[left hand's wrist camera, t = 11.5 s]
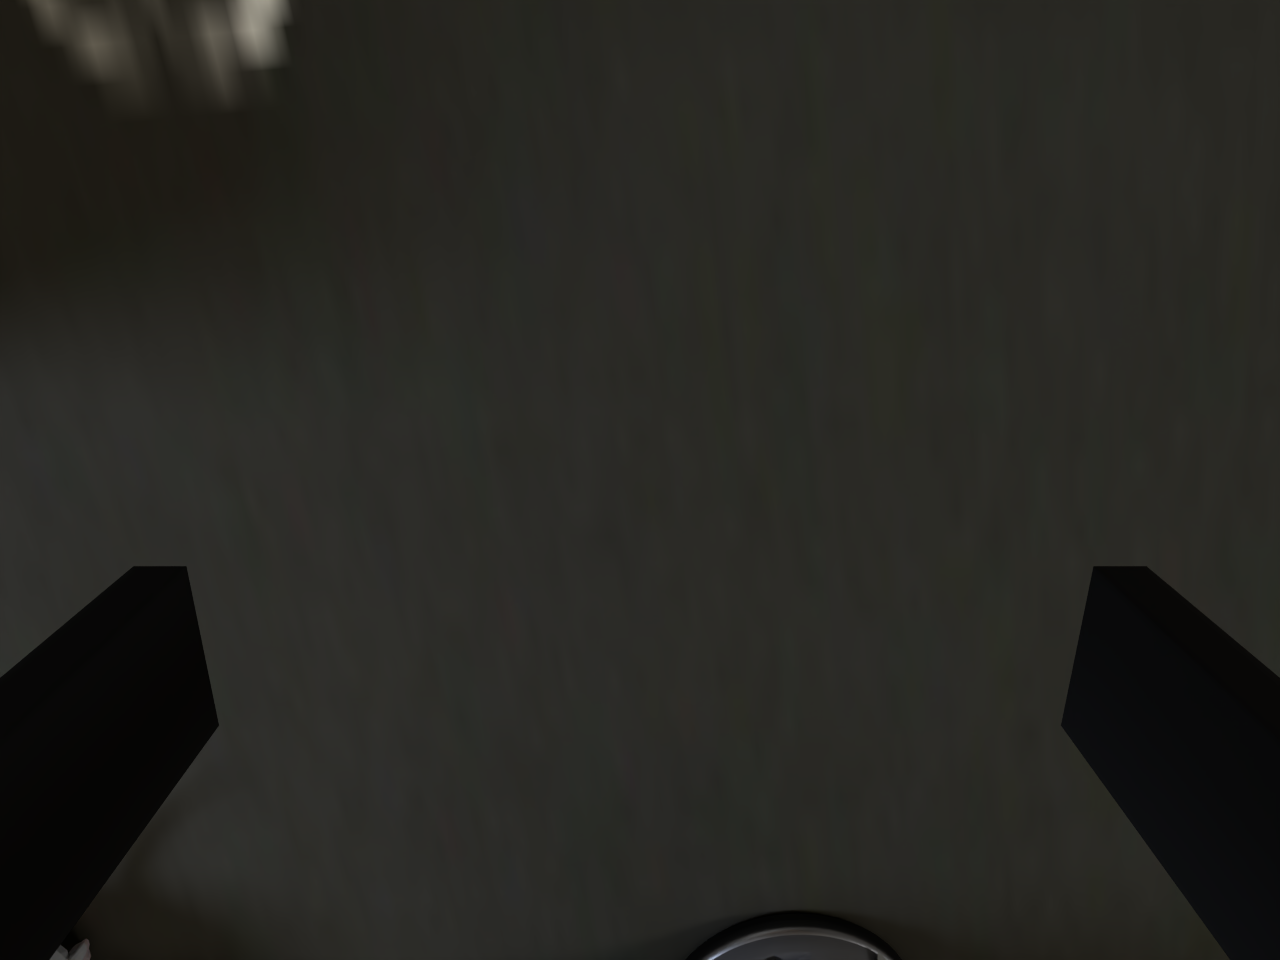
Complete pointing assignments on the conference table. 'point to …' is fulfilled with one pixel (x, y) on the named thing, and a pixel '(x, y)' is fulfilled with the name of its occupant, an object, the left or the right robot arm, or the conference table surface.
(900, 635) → the conference table surface
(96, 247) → the conference table surface
